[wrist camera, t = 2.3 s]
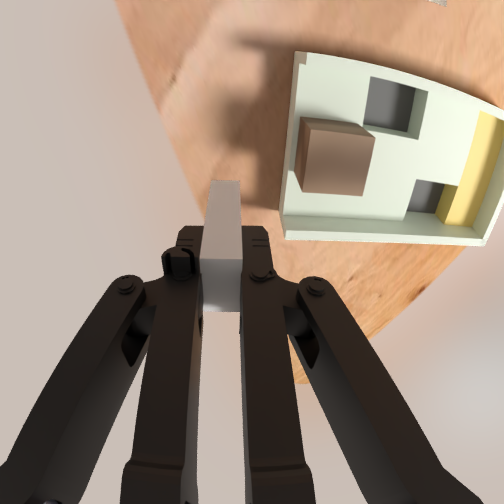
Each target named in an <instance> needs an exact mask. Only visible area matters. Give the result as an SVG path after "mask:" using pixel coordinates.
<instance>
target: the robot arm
mask: <svg viewBox="0 0 504 504" xmlns="http://www.w3.org/2000/svg"><path fill="white" fill-rule="evenodd" d="M161 258H162V265H163V271H164V276H163V277H161V278H159V279H156V280H153V281H149V282H144V283H143V281H142V280H141V278H140V277H137V276H135V275H125V276H121V277H119V278H117V279H116V280H114V281H113V282H112V283H111V285H110V286H109V287H108V289H107V290H106V292H105V293H104V295H103V296H102V298H101V299H100V300H99V302H98V303H97V305H96V306H95V308H94V309H93V310H92V312H91V313H90V315H89V316H88V318H87V319H86V321H85V323H84V324H83V325H82V327H81V328H80V330H79V331H78V333H77V335H76V336H75V337H74V339H73V341H72V342H71V344H70V345H69V347H68V349H67V350H66V352H65V353H64V355H63V357H62V358H61V360H60V362H59V363H58V365H57V366H56V368H55V370H54V371H53V373H52V375H51V377H50V378H49V380H48V382H47V383H46V385H45V387H44V389H43V390H42V392H41V394H40V396H39V397H38V399H37V401H36V403H35V405H34V407H33V408H32V410H31V412H30V414H29V416H28V418H27V420H26V422H25V424H24V425H23V428H22V429H21V431H20V433H19V435H18V438H17V439H16V441H15V444H14V446H13V448H12V450H11V452H10V454H9V456H8V458H7V461H6V462H4V464H3V465H1V466H0V504H78V503H79V502H80V500H81V498H82V496H83V494H84V492H85V489H86V487H87V485H88V482H89V480H90V477H91V475H92V472H93V470H94V468H95V465H96V463H97V460H98V458H99V455H100V453H101V451H102V448H103V446H104V444H105V442H106V439H107V437H108V435H109V432H110V430H111V428H112V426H113V423H114V421H115V419H116V417H117V414H118V412H119V410H120V408H121V406H122V403H123V401H124V399H125V397H126V395H127V392H128V390H129V388H130V386H131V384H132V382H133V380H134V378H135V375H136V373H137V371H138V369H139V367H140V365H141V363H142V361H143V359H144V356H145V355H146V353H147V356H146V362H145V367H144V373H143V379H142V385H141V391H140V397H139V404H138V411H137V417H136V425H135V433H134V441H133V449H132V455H131V458H130V460H129V461H128V462H127V463H126V464H125V467H124V469H123V475H122V483H121V495H120V504H198V488H197V435H198V432H197V431H198V406H199V384H200V365H201V349H202V334H203V311H218V312H240V331H239V334H240V347H241V383H242V412H243V437H244V438H243V439H244V461H245V462H244V463H245V502H246V504H316V500H315V492H314V484H313V478H312V473H311V470H310V468H309V466H308V465H307V464H306V461H305V457H304V451H303V443H302V435H301V429H300V421H299V413H298V406H297V399H296V392H295V385H294V378H293V371H292V364H291V357H290V350H289V344H288V337H287V334H288V335H289V338H290V341H291V343H292V345H293V347H294V349H295V351H296V353H297V356H298V358H299V360H300V362H301V364H302V366H303V368H304V371H305V373H306V375H307V377H308V379H309V381H310V383H311V386H312V388H313V390H314V392H315V394H316V396H317V398H318V400H319V403H320V405H321V407H322V409H323V411H324V413H325V415H326V417H327V420H328V422H329V424H330V426H331V428H332V430H333V433H334V435H335V437H336V439H337V441H338V443H339V445H340V447H341V450H342V452H343V454H344V456H345V458H346V460H347V462H348V465H349V466H350V469H351V471H352V473H353V475H354V477H355V479H356V481H357V484H358V486H359V488H360V490H361V492H362V494H363V496H364V498H365V499H366V501H367V503H368V504H483V502H482V501H481V499H480V498H479V497H477V496H476V495H475V494H474V493H473V492H471V491H470V490H469V489H468V488H467V487H465V486H464V485H463V484H462V483H461V482H459V481H458V480H457V479H456V478H455V477H454V476H452V475H451V474H450V473H449V472H448V471H447V470H445V469H444V468H443V467H442V465H441V463H440V461H439V460H438V458H437V456H436V454H435V452H434V450H433V449H432V447H431V445H430V443H429V441H428V440H427V438H426V436H425V434H424V432H423V431H422V429H421V427H420V425H419V424H418V422H417V420H416V419H415V417H414V415H413V413H412V412H411V410H410V408H409V406H408V405H407V403H406V402H405V400H404V398H403V396H402V395H401V393H400V392H399V390H398V388H397V386H396V385H395V383H394V381H393V380H392V378H391V376H390V375H389V373H388V371H387V370H386V368H385V367H384V365H383V363H382V362H381V360H380V359H379V357H378V355H377V354H376V352H375V351H374V349H373V347H372V346H371V344H370V343H369V341H368V339H367V338H366V336H365V335H364V333H363V332H362V330H361V329H360V327H359V325H358V324H357V322H356V321H355V319H354V318H353V316H352V315H351V313H350V312H349V310H348V309H347V307H346V305H345V304H344V302H343V301H342V299H341V298H340V296H339V295H338V293H337V292H336V290H335V289H334V287H333V286H332V285H331V284H330V283H329V282H328V281H327V280H325V279H323V278H320V277H316V276H313V277H306V278H304V279H302V280H301V281H300V282H299V284H298V283H294V282H290V281H287V280H284V279H283V278H281V277H279V276H278V275H277V273H276V271H275V270H274V268H273V262H272V255H271V249H270V243H269V236H268V232H267V231H266V230H265V229H264V227H263V226H241V202H240V181H234V180H211V185H210V191H209V197H208V203H207V210H206V216H205V223H204V226H184V227H183V228H182V229H181V230H180V231H179V233H178V237H177V241H176V246H175V247H172V248H169V249H167V250H166V251H165V252H164V253H163V254H162V256H161Z"/></svg>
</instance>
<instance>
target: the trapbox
mask: <svg viewBox="0 0 504 504" xmlns="http://www.w3.org/2000/svg"><path fill="white" fill-rule="evenodd" d="M300 117H311V118H320V119H328V120H336V121H344V122H351V123H357V124H359V125H360V126H361V127H363V128H364V129H365V130H367V131H368V132H369V133H370V134H372V135H373V136H374V137H375V138H376V139H375V144H374V148H373V153H372V158H371V162H370V167H369V171H368V175H367V180H366V184H365V188H364V192H363V196H350V195H336V194H320V193H303V192H302V191H301V188H300V186H299V183H298V181H297V178H296V176H295V173H294V165H295V157H296V149H297V140H298V132H299V123H300ZM503 203H504V110H502V109H500V108H498V107H496V106H493V105H491V104H489V103H487V102H485V101H483V100H480V99H478V98H476V97H473V96H471V95H468V94H466V93H464V92H461V91H458V90H456V89H453V88H451V87H448V86H445V85H442V84H440V83H437V82H434V81H431V80H428V79H425V78H422V77H419V76H415V75H412V74H409V73H405V72H402V71H398V70H395V69H391V68H387V67H383V66H379V65H375V64H371V63H366V62H362V61H357V60H352V59H347V58H341V57H336V56H330V55H324V54H317V53H310V52H301V51H295V54H294V65H293V77H292V87H291V98H290V108H289V119H288V129H287V138H286V148H285V157H284V167H283V176H282V185H281V194H280V203H279V215H280V220H281V224H282V229H283V233H284V238H285V240H319V241H356V242H388V243H417V244H443V245H468V246H484V245H485V243H486V241H487V239H488V237H489V235H490V233H491V231H492V229H493V226H494V224H495V222H496V220H497V217H498V215H499V213H500V210H501V208H502V206H503Z"/></svg>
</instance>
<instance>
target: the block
mask: <svg viewBox="0 0 504 504" xmlns="http://www.w3.org/2000/svg"><path fill="white" fill-rule="evenodd" d="M375 139H376V138H375V137H374V136H373V135H372V134H370V133H369V132H368V131H367V130H365V129H364V128H363V127H361V126H360V125H359V124H357V123H351V122H344V121H336V120H328V119H320V118H311V117H300V123H299V132H298V140H297V149H296V157H295V165H294V173H295V176H296V178H297V181H298V183H299V186H300V188H301V191H302V192H303V193H320V194H336V195H350V196H363V192H364V188H365V184H366V180H367V175H368V171H369V167H370V162H371V158H372V153H373V148H374V144H375Z"/></svg>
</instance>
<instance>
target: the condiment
mask: <svg viewBox="0 0 504 504" xmlns="http://www.w3.org/2000/svg"><path fill="white" fill-rule="evenodd" d="M428 1H431V2H434V3H437V4H439V5H442V6H445V7H447V4H446V3H447V2H446V0H428Z"/></svg>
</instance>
